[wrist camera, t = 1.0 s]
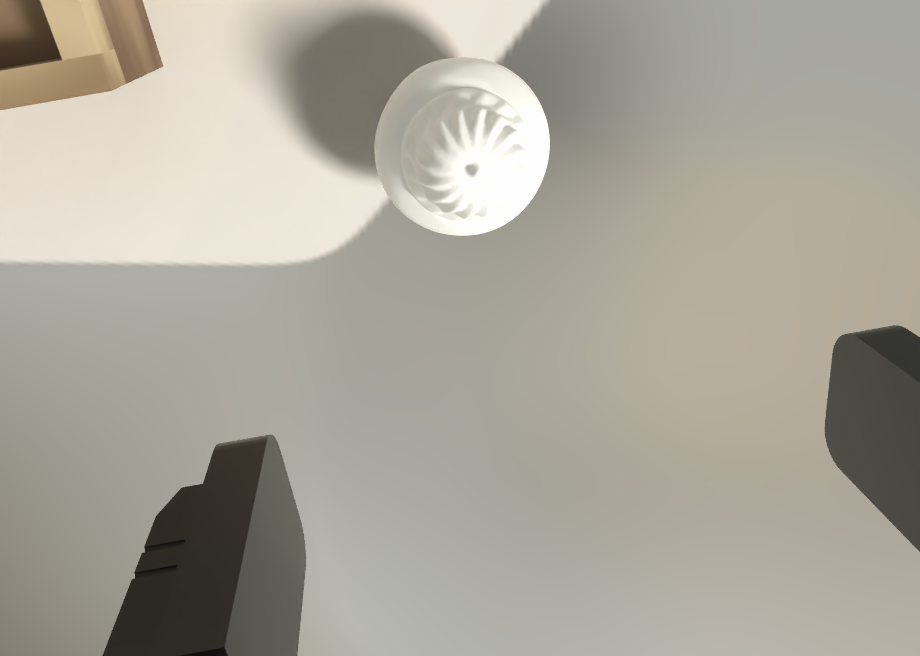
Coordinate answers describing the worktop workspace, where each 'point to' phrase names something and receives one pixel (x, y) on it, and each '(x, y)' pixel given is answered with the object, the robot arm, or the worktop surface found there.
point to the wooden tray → (71, 48)
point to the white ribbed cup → (462, 146)
